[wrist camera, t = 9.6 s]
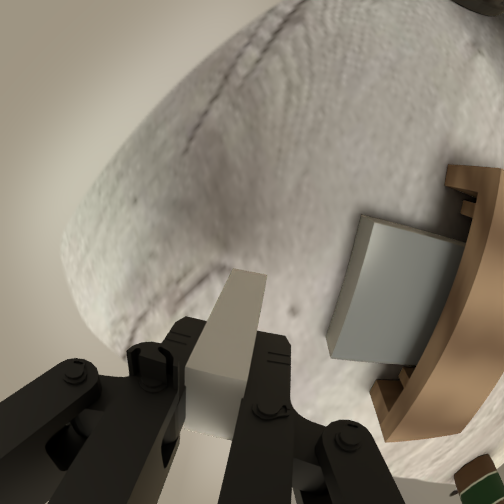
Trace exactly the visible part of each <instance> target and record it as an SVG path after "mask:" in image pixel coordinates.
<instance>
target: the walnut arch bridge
mask: <svg viewBox="0 0 504 504" xmlns="http://www.w3.org/2000/svg"><path fill="white" fill-rule="evenodd" d="M445 186H447V187H450V188H453V189H455V190H458V191H460V192H463V193H465V194H467V195H470V196H472V197H475V198H477V201H476V203H472V202H469V201H465V200H463V204H462V208H461V213H460V214H463V215H466V216H468V217H471V218H473V219H472V223H471V227H470V231H469V235H468V239H467V242H466V246H465V249H464V253H463V256H462V259H461V262H460V265H459V268H458V271H457V274H456V277H455V280H454V283H453V286H452V288H451V291H450V294H449V296H448V299H447V301H446V304H445V306H444V309H443V311H442V314H441V316H440V318H439V321H438V323H437V325H436V327H435V330H434V332H433V334H432V336H431V338H430V340H429V342H428V345H427V347H426V349H425V351H424V353H423V355H422V357H421V358H420V360H419V362H418V364H417V366H416V368H412V367H403V368H402V370H401V372H400V374H399V376H398V377H399V379H400V381H397V380H376V381H375V383H374V385H373V387H372V389H371V390H370V395H371V398H372V402H373V405H374V408H375V411H376V414H377V417H378V421H379V424H380V427H381V431H382V434H383V437H384V441H385V443H386V442H400V441H411V440H420V439H428V438H435V437H441V436H447V435H453V434H458V433H461V432H462V430H463V429H464V428H465V427H466V425H467V424H468V423H469V422H470V420H471V419H472V418H473V416H474V415H475V414H476V412H477V411H478V410H479V408H480V407H481V406H482V404H483V403H484V401H485V400H486V398H487V397H488V396H489V394H490V393H491V391H492V390H493V388H494V387H495V385H496V383H497V382H498V380H499V379H500V377H501V375H502V374H503V372H504V170H503V169H501V168H491V167H479V166H466V165H450V164H448V168H447V174H446V179H445Z"/></svg>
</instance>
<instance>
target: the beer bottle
mask: <svg viewBox="0 0 504 504" xmlns="http://www.w3.org/2000/svg"><path fill="white" fill-rule="evenodd" d="M454 479H455V484H456V487H457V490H458V493H459V496H460V499H461V501H462V504H504V485H503V483H502V480H501V478H500V476H499V474H498V471H497V469H496V467H495V465H494V463H493V461H492V459H491V458H490V456H489V455H488V454H486V455H482V456H479V457H477V458H476V459H474V460H472V461H471V462H469V463H468V464H466V465H464V466H463V467H462V468H461V469H460V470H459V471H458V472H457V473H456V474H455V476H454Z"/></svg>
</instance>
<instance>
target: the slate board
mask: <svg viewBox="0 0 504 504" xmlns="http://www.w3.org/2000/svg"><path fill="white" fill-rule="evenodd" d="M465 246H466V243H464V242H461V241H457V240H454V239H451V238H447V237H444V236H441V235H437V234H434V233H430V232H427V231H423V230H420V229H416V228H412V227H409V226H405V225H401V224H397V223H394V222H390V221H386V220H382V219H378V218H374V217H370V216H366V215H362V214H361V218H360V223H359V227H358V231H357V235H356V239H355V243H354V246H353V250H352V254H351V258H350V261H349V265H348V268H347V272H346V275H345V279H344V282H343V285H342V289H341V292H340V295H339V299H338V302H337V305H336V308H335V311H334V314H333V317H332V320H331V323H330V326H329V329H328V332H327V335H326V340H327V345H328V349H329V353H330V357H331V358H332V359H341V360H350V361H360V362H372V363H385V364H401V365H417V364H418V362H419V360H420V358H421V357H422V355H423V353H424V351H425V349H426V347H427V345H428V342H429V340H430V338H431V336H432V334H433V332H434V330H435V327H436V325H437V323H438V321H439V318H440V316H441V314H442V311H443V309H444V306H445V304H446V301H447V299H448V296H449V294H450V291H451V288H452V286H453V283H454V280H455V277H456V274H457V271H458V268H459V265H460V262H461V259H462V256H463V253H464V249H465Z"/></svg>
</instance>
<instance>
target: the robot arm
mask: <svg viewBox="0 0 504 504" xmlns="http://www.w3.org/2000/svg"><path fill="white" fill-rule="evenodd" d="M453 1H455V2H456V3H458V4H460V5H462V6H464V7H466V8H468V9H470V10H472V11H475V12H477V13H480V14H483V15H487V16H498V15H501V14H503V13H504V0H453ZM266 279H267V275H265V274H260V273H254V272H249V271H244V270H239V269H234V268H233V270H232V272H231V274H230V276H229V278H228V280H227V282H226V284H225V286H224V288H223V290H222V292H221V294H220V296H219V298H218V300H217V302H216V304H215V306H214V308H213V310H212V312H211V314H210V316H209V318H208V321H204V320H199V319H195V318H191V317H187V316H185V317H184V318H182V319H180V320H179V321H177V322H175V324H174V325H173V327H172V328H171V330H170V332H169V333H168V334H167V336H166V337H165V340H163V342H162V343H156V342H142V343H139V344H136V345H133V346H132V347H131V348H129V349H128V350H127V360H128V367H129V376H128V377H113V376H104V375H99V374H98V371H97V368H96V367H95V366H94V365H93V364H92V363H91V362H89V361H87V360H85V359H78V358H74V359H67V360H65V361H63V362H61V363H59V364H57V365H56V366H54V367H53V368H51V369H50V370H49V371H47V372H45V373H44V374H42V375H41V376H40V377H38V378H36V379H35V380H33V381H32V382H30V383H29V384H27V385H26V386H24V387H23V388H21V389H20V390H18V391H17V392H15V393H14V394H12V395H11V396H9V397H8V398H6V399H5V400H4V401H2V402H0V504H45V503H46V502H47V501H49V502H48V504H157V502H158V499H159V496H160V494H161V491H162V488H163V486H164V483H165V480H166V478H167V475H168V473H169V470H170V467H171V465H172V462H173V459H174V456H175V454H176V451H177V449H178V446H179V441H180V431H181V429H182V426H183V424H184V429H186V430H190V431H193V432H197V433H201V434H205V435H209V436H213V437H218V438H223V439H227V440H232V444H231V448H230V453H229V457H228V462H227V466H226V470H225V474H224V479H223V483H222V487H221V491H220V495H219V500H218V504H291V493H292V487H293V491H294V494H295V498H296V503H297V504H405V502H404V500H403V498H402V496H401V494H400V491H399V490H398V487H397V485H396V483H395V481H394V479H393V477H392V475H391V473H390V471H389V469H388V467H387V465H386V463H385V461H384V459H383V457H382V455H381V453H380V451H379V449H378V447H377V445H376V443H375V441H374V439H373V437H372V435H371V433H370V432H369V431H368V429H367V428H366V427H364V426H363V425H361V424H360V423H358V422H354V421H351V420H338V421H334V422H331V423H330V424H329V425H328V426H327V427H325V426H323V425H320V424H317V423H314V422H311V421H309V420H307V419H305V418H303V417H302V416H301V415H299V414H298V413H297V412H296V411H295V409H294V408H293V406H292V404H291V400H290V381H291V366H290V365H291V345H290V343H289V341H288V340H287V338H286V336H283V335H278V334H272V333H266V332H261V331H257V328H258V323H259V317H260V312H261V307H262V301H263V296H264V290H265V285H266Z"/></svg>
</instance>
